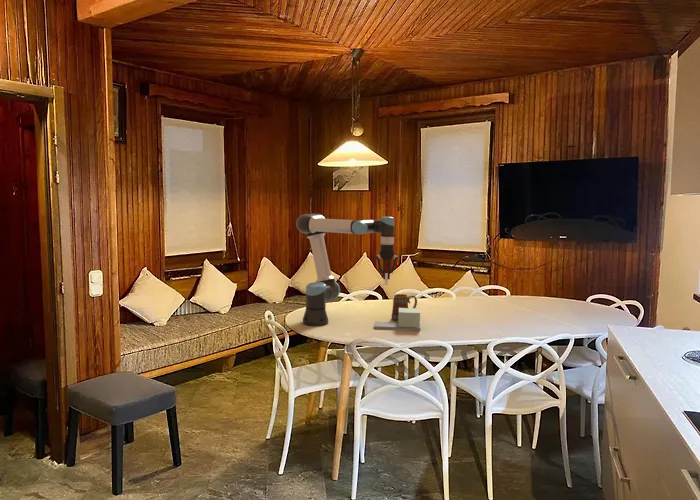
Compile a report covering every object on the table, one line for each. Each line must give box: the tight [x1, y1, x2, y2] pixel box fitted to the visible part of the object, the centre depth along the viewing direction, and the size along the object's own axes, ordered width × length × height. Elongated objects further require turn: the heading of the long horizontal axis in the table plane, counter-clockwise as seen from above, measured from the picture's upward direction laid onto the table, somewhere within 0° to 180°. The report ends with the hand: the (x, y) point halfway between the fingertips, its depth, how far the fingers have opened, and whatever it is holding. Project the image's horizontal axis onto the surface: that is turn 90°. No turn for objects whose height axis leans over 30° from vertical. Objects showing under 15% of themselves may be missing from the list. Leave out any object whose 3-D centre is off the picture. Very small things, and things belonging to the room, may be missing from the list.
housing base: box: [373, 320, 421, 332], centre depth 316 cm, size 26×12×6 cm, turn 85°
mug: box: [391, 293, 418, 322], centre depth 336 cm, size 16×11×15 cm
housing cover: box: [397, 307, 421, 328], centre depth 315 cm, size 12×12×8 cm
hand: (386, 284), depth 315 cm, fingers closed
